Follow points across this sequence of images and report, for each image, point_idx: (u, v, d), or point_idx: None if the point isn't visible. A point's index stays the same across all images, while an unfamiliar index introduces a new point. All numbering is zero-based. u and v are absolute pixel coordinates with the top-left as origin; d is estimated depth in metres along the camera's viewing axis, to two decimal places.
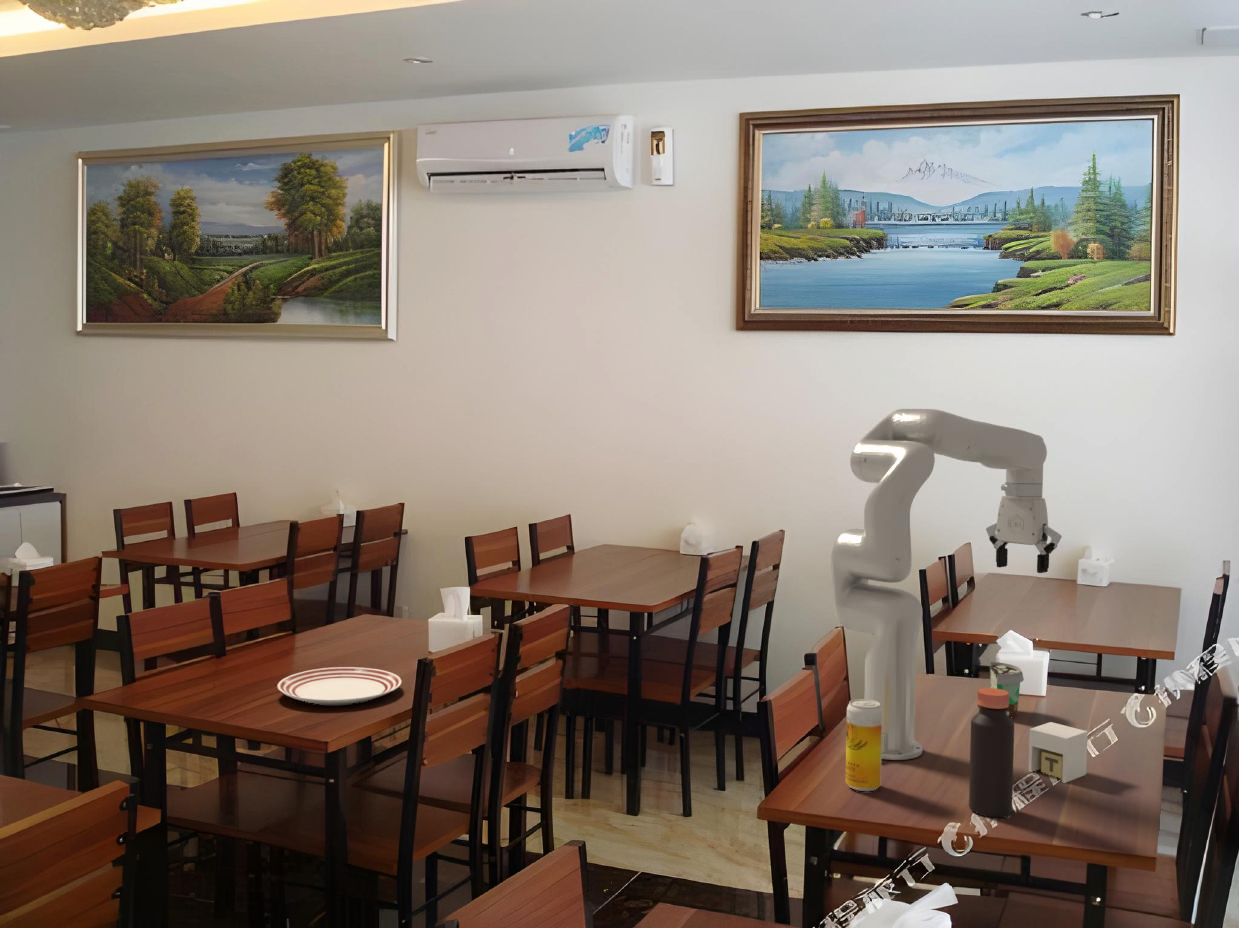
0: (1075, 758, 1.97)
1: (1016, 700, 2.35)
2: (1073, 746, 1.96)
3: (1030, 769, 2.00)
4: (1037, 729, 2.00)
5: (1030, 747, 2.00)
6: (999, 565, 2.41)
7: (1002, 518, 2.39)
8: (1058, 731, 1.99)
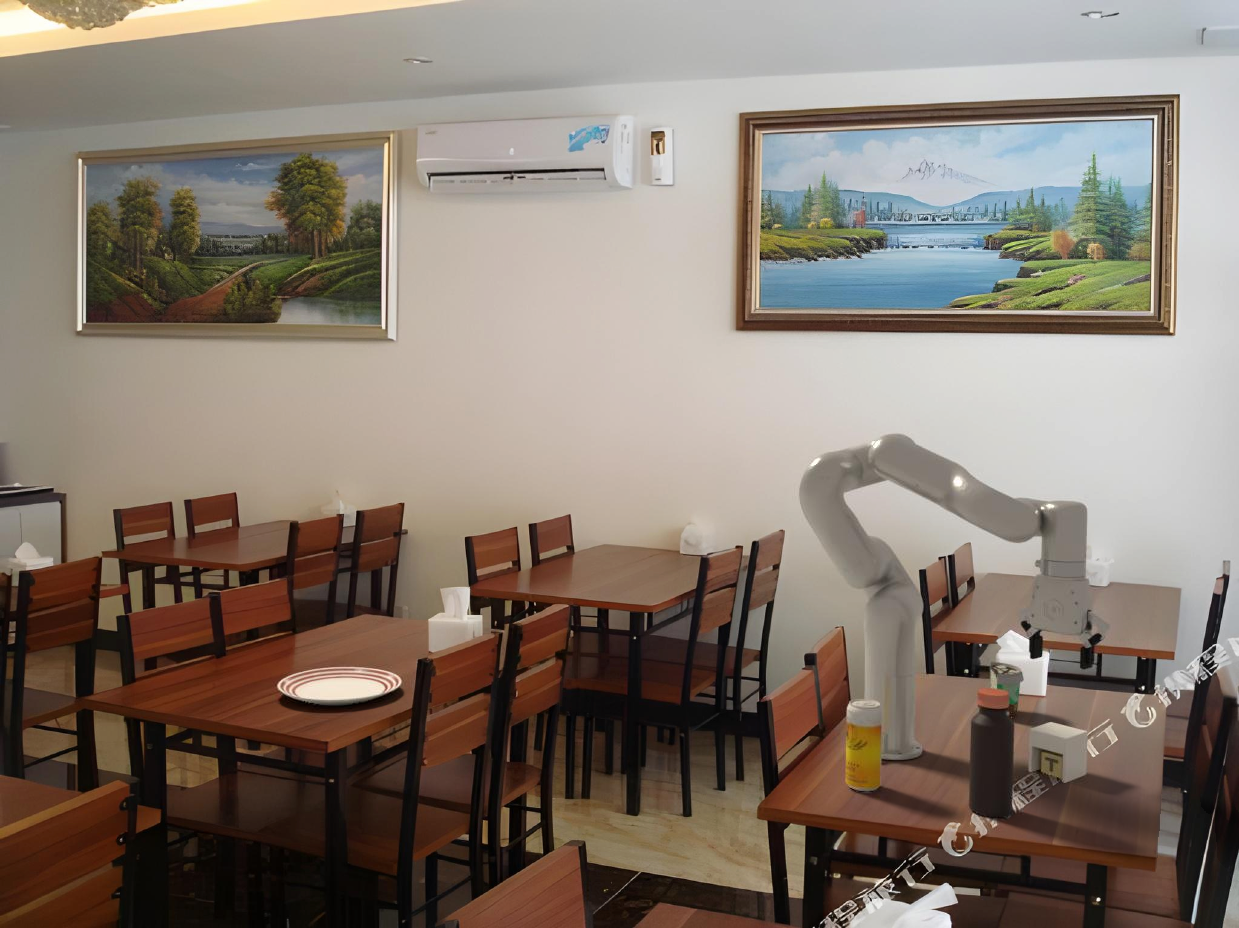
0: (1075, 758, 1.97)
1: (1016, 700, 2.35)
2: (1073, 746, 1.96)
3: (1030, 769, 2.00)
4: (1037, 729, 2.00)
5: (1030, 747, 2.00)
6: (1033, 656, 2.02)
7: (1037, 601, 1.99)
8: (1058, 731, 1.99)
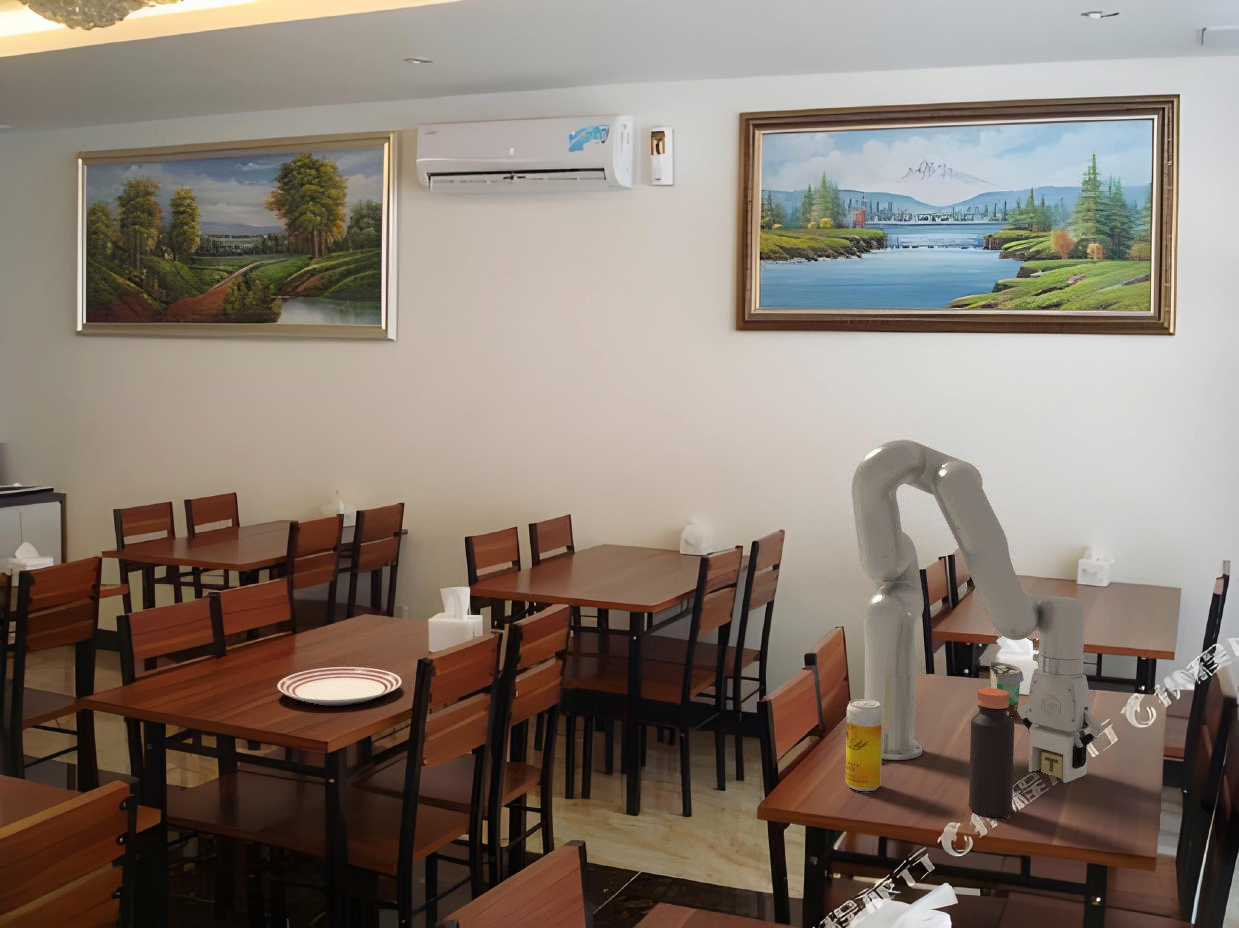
0: None
1: (1016, 700, 2.35)
2: None
3: (1030, 769, 2.00)
4: (1037, 729, 2.00)
5: (1030, 747, 2.00)
6: None
7: (1034, 696, 2.00)
8: (1059, 731, 1.99)
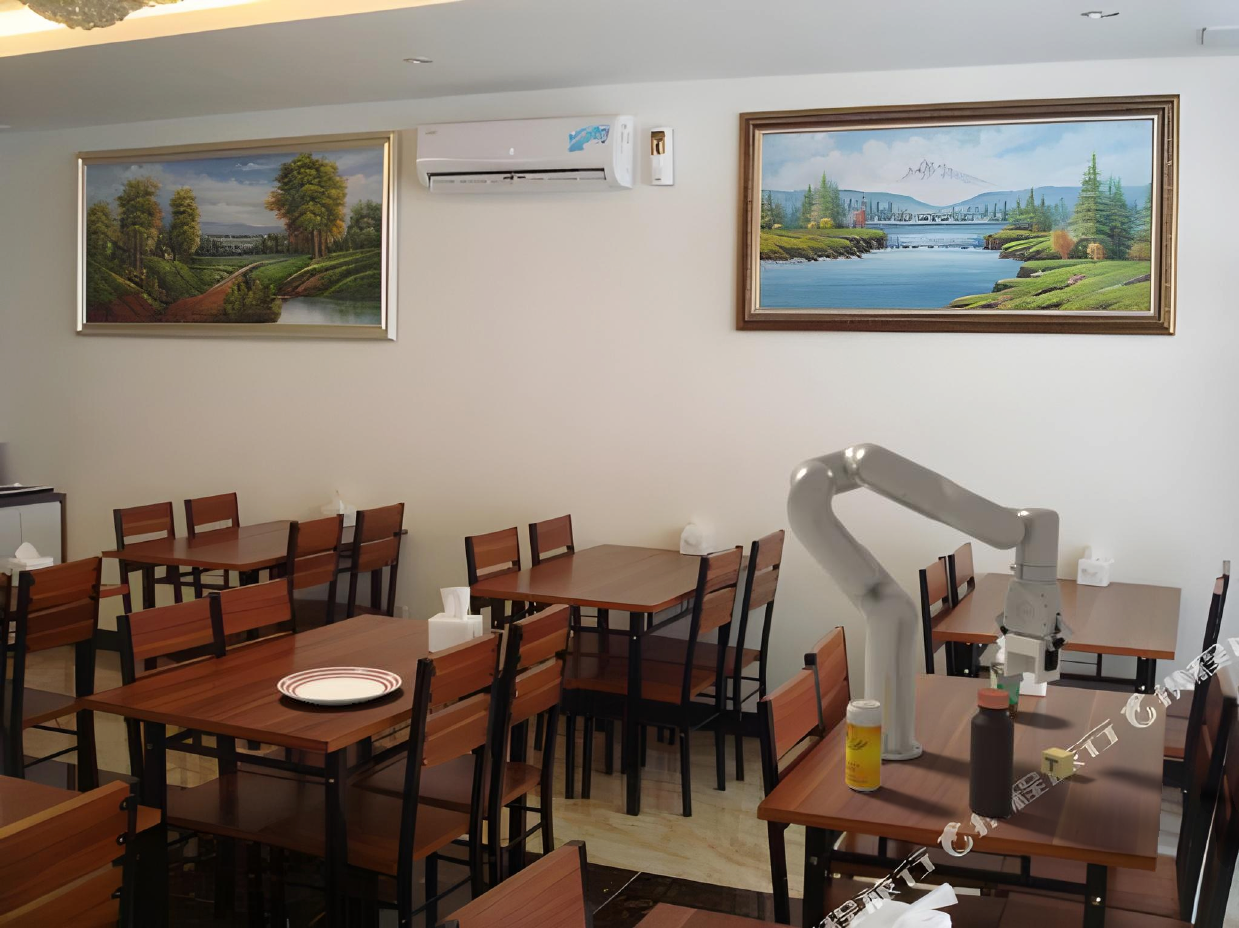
0: None
1: (1016, 700, 2.35)
2: None
3: (1005, 673, 2.10)
4: (1013, 635, 2.09)
5: (1005, 652, 2.09)
6: None
7: (1010, 603, 2.09)
8: (1033, 636, 2.08)
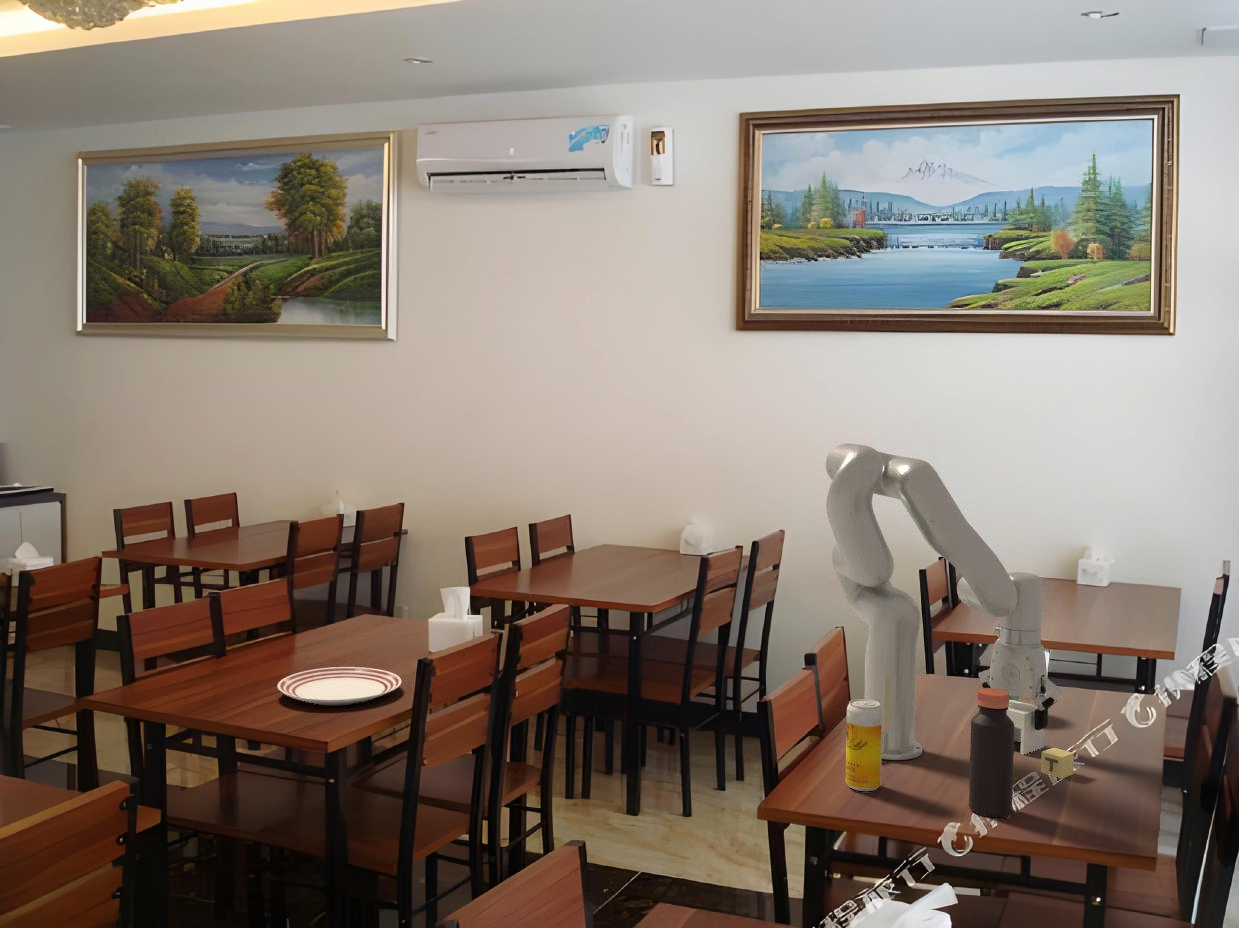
0: (1033, 732, 2.12)
1: (1016, 700, 2.35)
2: (1031, 721, 2.11)
3: None
4: None
5: None
6: None
7: (996, 665, 2.15)
8: (1018, 707, 2.14)
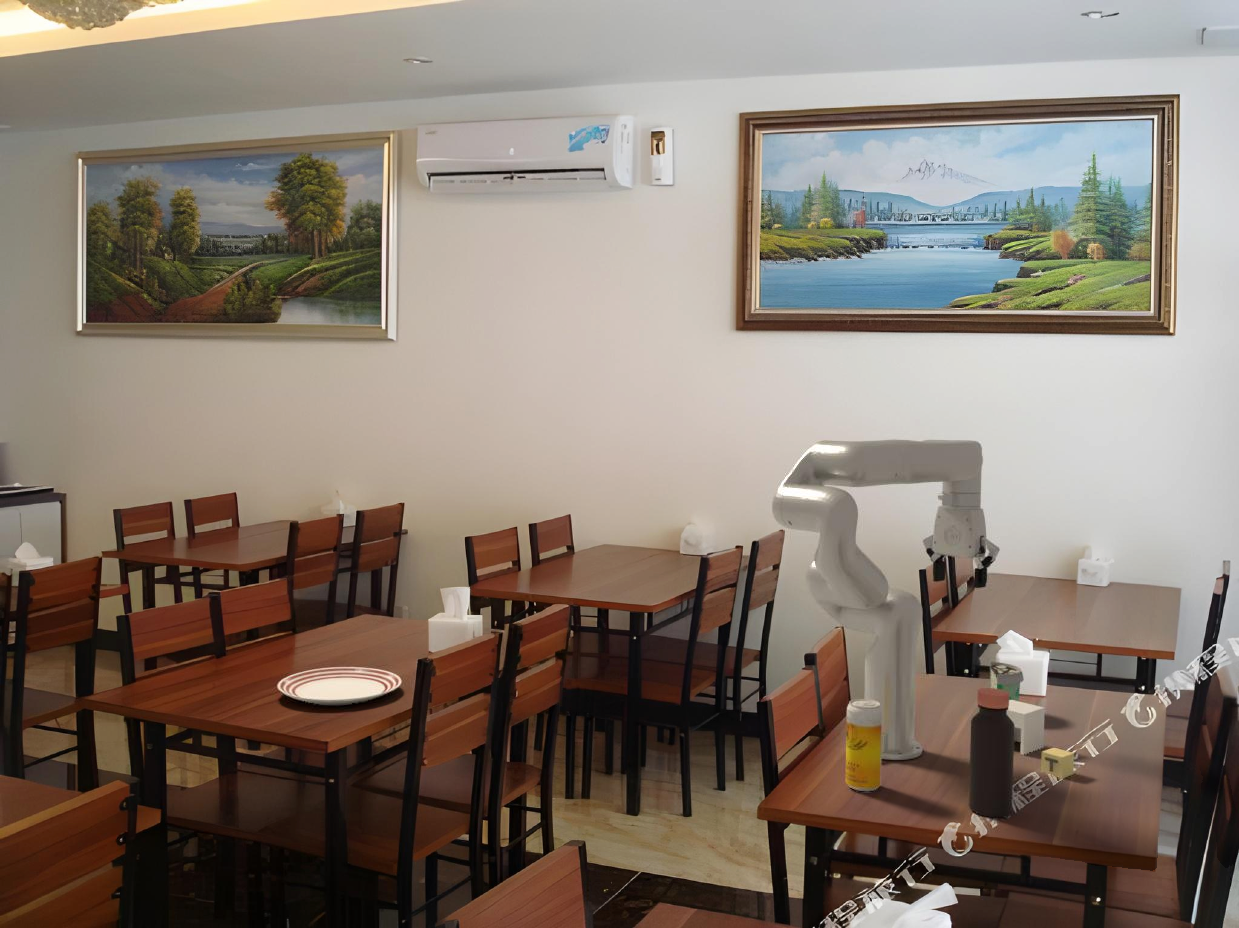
0: (1033, 732, 2.12)
1: (1016, 700, 2.35)
2: (1031, 721, 2.11)
3: None
4: None
5: None
6: (936, 579, 2.27)
7: (938, 529, 2.25)
8: (1018, 707, 2.14)
